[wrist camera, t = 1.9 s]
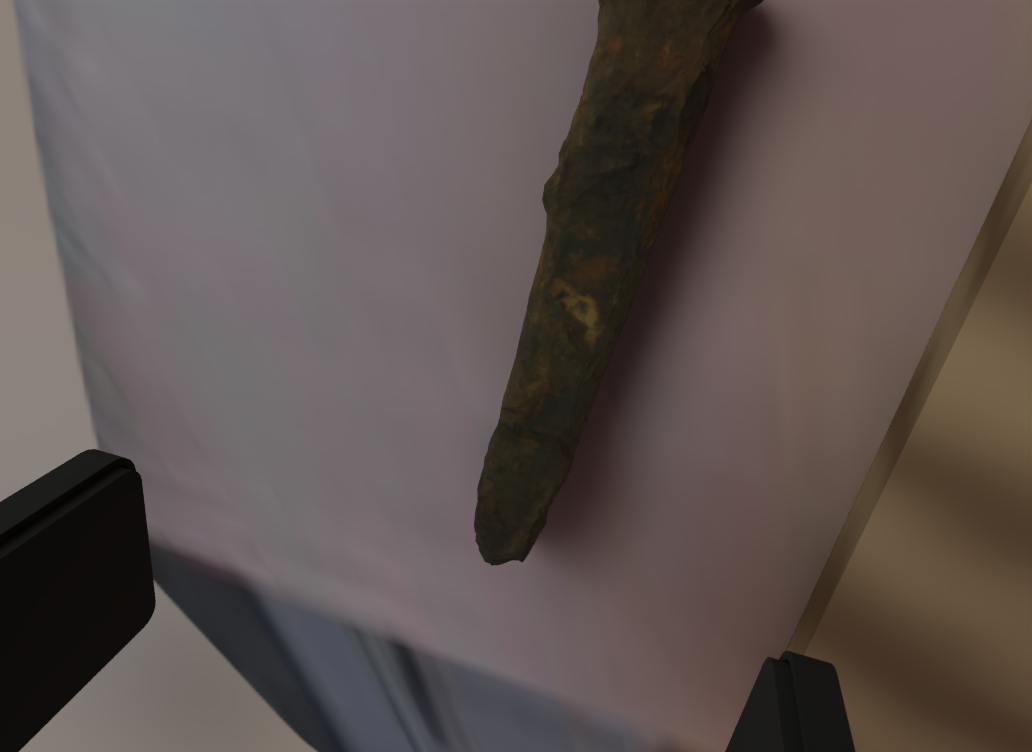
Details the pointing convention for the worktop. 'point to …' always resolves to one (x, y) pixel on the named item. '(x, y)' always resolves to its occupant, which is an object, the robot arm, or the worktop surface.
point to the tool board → (946, 525)
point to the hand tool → (596, 245)
